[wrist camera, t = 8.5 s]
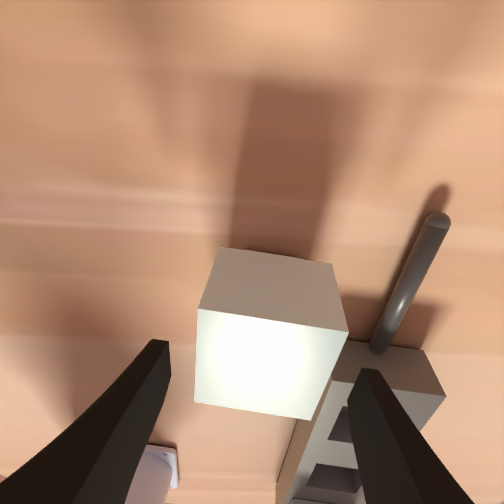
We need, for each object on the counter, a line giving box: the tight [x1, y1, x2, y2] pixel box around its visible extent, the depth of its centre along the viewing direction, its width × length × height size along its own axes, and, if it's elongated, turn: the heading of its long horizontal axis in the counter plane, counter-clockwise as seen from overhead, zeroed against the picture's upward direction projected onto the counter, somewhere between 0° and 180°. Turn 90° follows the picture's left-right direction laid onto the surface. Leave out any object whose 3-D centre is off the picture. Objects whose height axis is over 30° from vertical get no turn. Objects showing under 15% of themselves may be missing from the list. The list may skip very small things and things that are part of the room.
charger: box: [194, 246, 349, 421], centre depth 14 cm, size 5×5×6 cm
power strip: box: [275, 212, 451, 504], centre depth 19 cm, size 6×31×7 cm, turn 175°
